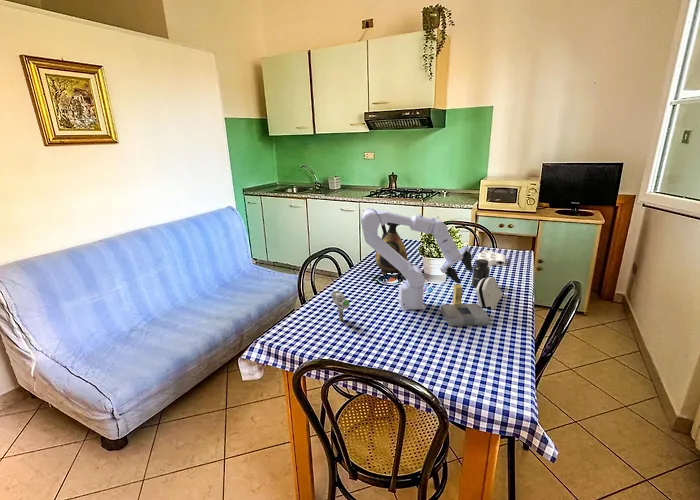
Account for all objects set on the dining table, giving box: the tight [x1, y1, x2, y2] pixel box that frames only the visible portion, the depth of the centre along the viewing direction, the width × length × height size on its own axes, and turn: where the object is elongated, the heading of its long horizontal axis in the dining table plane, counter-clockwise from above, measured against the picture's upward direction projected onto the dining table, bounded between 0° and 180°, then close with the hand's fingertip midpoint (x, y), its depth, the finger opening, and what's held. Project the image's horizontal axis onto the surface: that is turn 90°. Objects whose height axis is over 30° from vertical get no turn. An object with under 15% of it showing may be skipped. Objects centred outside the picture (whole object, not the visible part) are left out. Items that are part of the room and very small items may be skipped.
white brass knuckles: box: [475, 249, 506, 267], centre depth 192 cm, size 3×18×15 cm
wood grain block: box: [452, 283, 463, 304], centre depth 144 cm, size 2×3×8 cm
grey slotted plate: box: [440, 302, 490, 327], centre depth 134 cm, size 14×11×3 cm
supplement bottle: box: [471, 259, 491, 289], centre depth 160 cm, size 7×7×12 cm
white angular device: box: [475, 276, 504, 311], centre depth 147 cm, size 17×5×10 cm, turn 145°
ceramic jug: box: [374, 210, 408, 275], centre depth 176 cm, size 17×15×30 cm
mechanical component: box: [331, 290, 350, 322], centre depth 133 cm, size 3×10×10 cm, turn 27°
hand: (464, 276), depth 142 cm, fingers open, 7 cm apart
